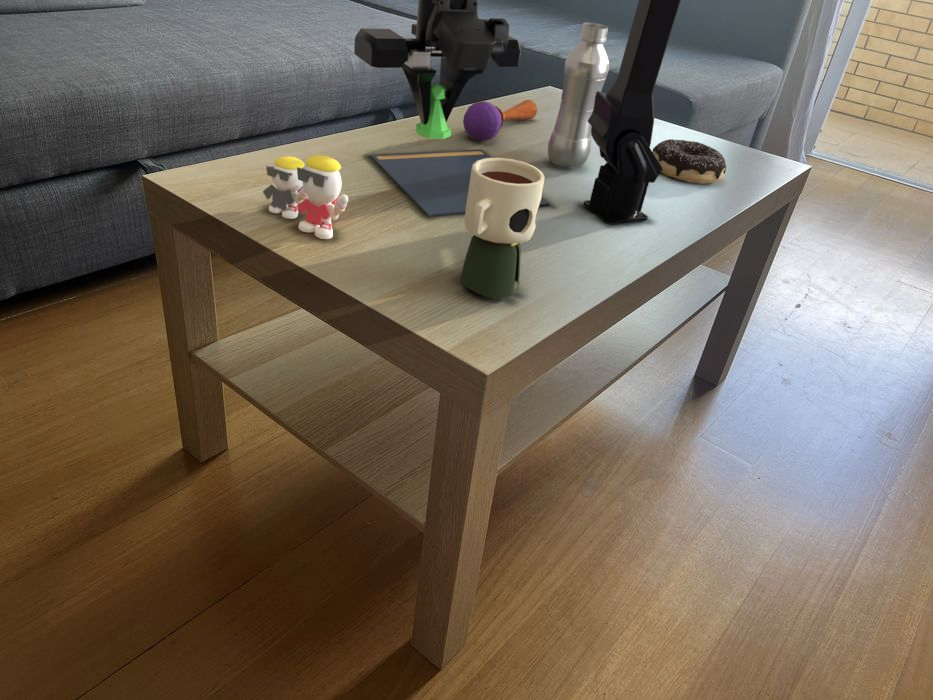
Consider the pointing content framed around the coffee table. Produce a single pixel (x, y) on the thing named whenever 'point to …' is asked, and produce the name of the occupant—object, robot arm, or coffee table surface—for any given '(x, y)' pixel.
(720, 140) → the coffee table surface
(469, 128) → the maraca
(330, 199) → the toy figures
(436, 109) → the game piece
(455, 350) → the coffee table surface
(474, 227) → the character mug
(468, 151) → the napkin
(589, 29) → the silver metal bottle
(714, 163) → the donut
